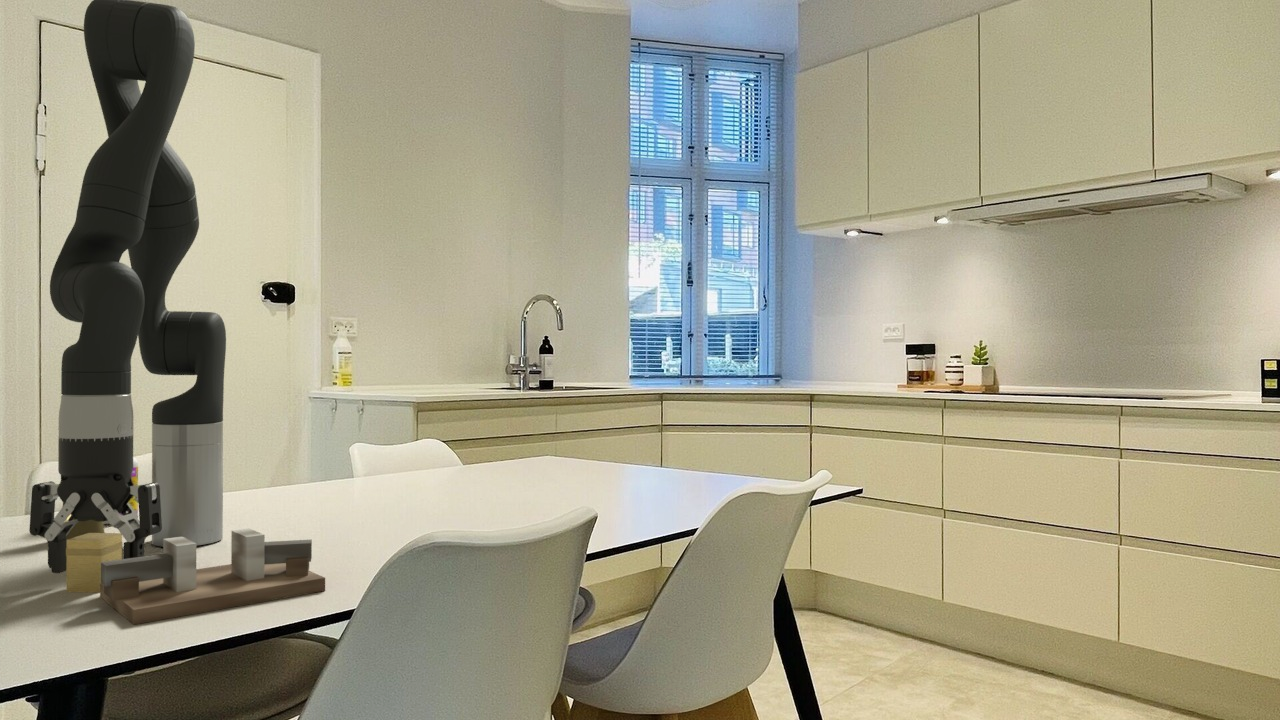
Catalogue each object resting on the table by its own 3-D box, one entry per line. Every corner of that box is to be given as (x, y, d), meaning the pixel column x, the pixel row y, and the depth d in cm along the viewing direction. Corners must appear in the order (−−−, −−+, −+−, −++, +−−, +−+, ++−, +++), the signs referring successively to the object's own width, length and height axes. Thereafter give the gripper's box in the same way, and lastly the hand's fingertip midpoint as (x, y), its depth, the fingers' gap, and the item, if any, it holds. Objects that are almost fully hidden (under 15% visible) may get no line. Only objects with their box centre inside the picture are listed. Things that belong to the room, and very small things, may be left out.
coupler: (65, 592, 105) (65, 539, 105) (88, 582, 109) (88, 532, 109) (100, 592, 105) (100, 540, 105) (122, 583, 109) (122, 533, 109)
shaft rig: (87, 598, 102) (88, 540, 102) (283, 568, 117) (283, 517, 117) (120, 627, 92) (120, 562, 92) (330, 589, 107) (330, 534, 107)
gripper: (174, 431, 110) (173, 565, 110) (58, 430, 111) (57, 564, 111) (137, 436, 103) (137, 581, 103) (13, 435, 103) (13, 579, 103)
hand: (96, 572), depth 107 cm, fingers open, 8 cm apart
